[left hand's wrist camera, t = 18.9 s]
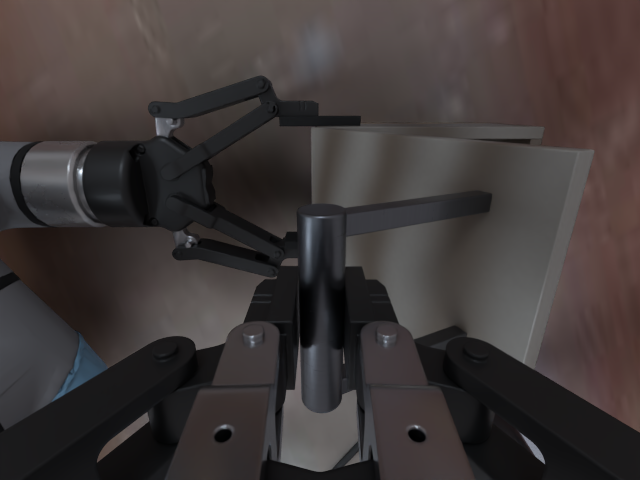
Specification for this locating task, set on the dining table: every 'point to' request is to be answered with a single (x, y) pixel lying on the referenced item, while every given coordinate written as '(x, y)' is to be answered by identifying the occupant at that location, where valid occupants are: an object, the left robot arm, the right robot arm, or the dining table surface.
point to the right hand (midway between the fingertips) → (356, 183)
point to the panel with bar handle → (433, 241)
